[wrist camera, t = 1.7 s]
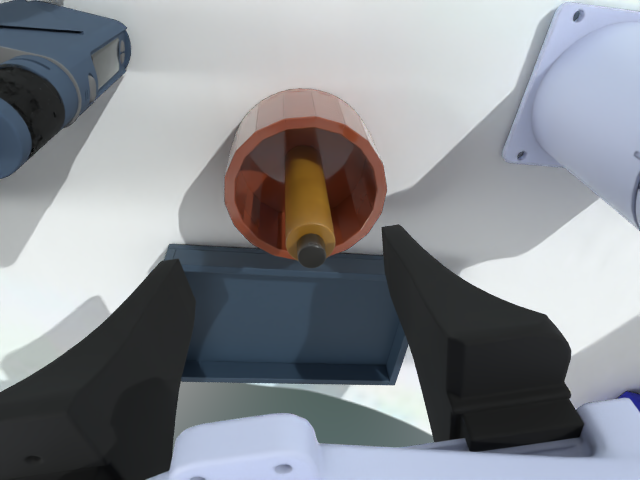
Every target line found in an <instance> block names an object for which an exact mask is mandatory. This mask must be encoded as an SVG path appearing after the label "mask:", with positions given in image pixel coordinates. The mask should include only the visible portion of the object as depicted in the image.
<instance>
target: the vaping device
mask: <svg viewBox="0 0 640 480" xmlns="http://www.w3.org/2000/svg"><path fill="white" fill-rule="evenodd" d="M125 29H127V27H126V26H125V25H123V24H122V23H121V22H119V21H117V20H114V19H110V18H106V17H102V16H98V15H94V14H90V13H86V12H82V11H78V10H74V9H70V8H66V7H62V6H58V5H54V4H50V3H46V2H42V1H29V2H28V1H26V0H13V1H9V2H6V3H2V4H0V179H2V178H5V177H7V176H10V175H11V174H12V173H14V172H15V171H16V170H17V169H19V168H20V167H21V166H22V165H23V164H24V163H25V162H26V161H27V159H29V158H31V157H32V156H33V155H34V154H35V153H36V152H37V151H38V150H39V149H40V148H41V147H43V146H44V145H45V144H46V143H47V142H48V141H49V140H50V139H51V138H52V137H53V136H55V135H56V134H57V133H58V132H59V131H60V130H61V129H62V128H66V127H68V126H70V125H71V124H72V123H73V122H74V121H75V120H76V119H77V118H78V117H79V116H80V115H81V114H82V113H83V112H84V111H85V110H86V109H87V108H88V107H89V106H90V105H91V104H93V103H94V101H95V100H96V99H97V98H98V97H99V96H100V95H101V94H102V93H103V92H104V91H106V90H107V89H108V88H109V87H110V86H111V85H112V84H113V83H114V82H115V81H116V80H117V79H119V78H120V77H121V76H122V75H123V74H124V73H125V72H126V70H125V68H126V67H127V65H128V63H129V60H130V56H131V45H130V40H129V36H128V34H127V32H126V30H125ZM35 149H36V150H35ZM28 157H29V158H28Z"/></svg>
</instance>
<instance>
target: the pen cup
mask: <svg viewBox="0 0 640 480" xmlns="http://www.w3.org/2000/svg"><path fill="white" fill-rule="evenodd" d="M302 145H305V146H310V147H312V148H314V149H315V150H316V151H317V152H318V153H319V154H320V156H321V160H322V166H323V171H324V177H325V183H326V189H327V194H328V200H329V206H330V211H331V217H332V223H333V229H334V234H335V241H336V243H335V248H334V250H333V252H332V253H331V254H330V255H329V256H332V255H334V254H337V253H340V252H342V251H345V250H347V249H349V248H350V247H352V246H353V245H354V244H355V243H357V242H358V241H359V240H361V239H362V238H363V237H364V236H366V235H367V233H369V231H370V230H371V228H372V227H373V225H374V224H375V222H376V221H377V219H378V218H379V216H380V215H381V213H382V210H383V205H384V201H385V197H386V192H387V184H386V178H385V172H384V166H383V163H382V160H381V158H380V156H379V153H378V151H377V149H376V147H375V144H374V142H373V140H372V137H371V135H370V133H369V131H368V130H367V128H366V126H365V124H364V122H363V121H362V119H361V118H360V116H359V115H358V114H357V113H356V111H355V110H354V109H353V108H352V107H351V106H349V105H348V104H347V103H346V102H344V101H343V100H341V99H340V98H338V97H336V96H334V95H332V94H330V93H326V92H323V91H320V90H314V89H290V90H286V91H282V92H279V93H276V94H274V95H271V96H269V97H267V98H266V99H264V100H262V101H261V102H259V103H258V104H257V105H255V106H254V107H253V108H252V109H251V110H250V111H249V112H248V113H247V115H246V116H245V117H244V119H243V120H242V122H241V124H240V125H239V127H238V129H237V132H236V135H235V138H234V140H233V143H232V146H231V150H230V155H229V159H228V164H227V168H226V172H225V177H224V202H225V205H226V208H227V210H228V212H229V215H230V217H231V220H232V222H233V224H234V226H235V227H236V228H237V229H238V230H239V231H240V232H241V233H242V234H243V236H244V237H245V238H246V239H247V240H248V241H249V242H250V243H252V244H253V245H255V246H256V247H258V248H260V249H262V250H264V251H266V252H268V253H270V254H271V255H274V256H278V257H283V258H288V259H293V260H296V259H294V258H293V257H292V256H291V255H290V254H289V253H288V251H287V248H286V231H285V157H286V155H287V153H288V152H289V151H290V150H291V149H293V148H294V147H297V146H302ZM329 256H328V257H329Z"/></svg>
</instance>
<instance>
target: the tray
mask: <svg viewBox="0 0 640 480" xmlns="http://www.w3.org/2000/svg"><path fill="white" fill-rule="evenodd" d="M178 258H179V261H180V263H181V265H182V268H183V270H184V273H185V275H186V278H187V280H188V283H189V285H190V287H191V290H192V292H193V295H194V297H195V300H196V308H195V320H194V327H193V332H192V336H191V341H190V345H189V349H188V353H187V357H186V361H185V365H184V369H183V373H182V378H181V381H182V382H232V383H289V384H347V385H395V383H396V380H397V377H398V374H399V371H400V368H401V365H402V362H403V359H404V356H405V353H406V350H407V347H408V341H407V339H406V336H405V333H404V331H403V328H402V325H401V323H400V320H399V318H398V315H397V312H396V310H395V307H394V304H393V302H392V299H391V296H390V292H389V288H388V284H387V280H386V276H385V270H384V256H378V255H360V254H342V253H337V254H334V255H332V256H329V257H327V258H326V260H325V262H324V263H323V264H322V265H321V266H319V267H317V268H306V267H304V266H302V265H301V264H300V263H299V261H297V260H293V259H288V258H283V257H278V256H274V255H271V254H270V253H268V252H266V251H264V250H262V249H252V248H234V247H216V246H198V245H180V244H169V247H168V250H167V252H166V255H165V258H164V261H165V260H171V259H178Z"/></svg>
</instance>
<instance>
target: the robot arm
mask: <svg viewBox="0 0 640 480" xmlns="http://www.w3.org/2000/svg"><path fill="white" fill-rule="evenodd" d="M578 10H579V11H580V15H579V17H578V18H577V19H576V20H575V21H573V15H574V14H575V12H577V11H578ZM523 151H524V152H523ZM520 152H523V155H522V156H520V157H517V155H518V154H519V153H520ZM502 157H503V159H504V160H505V161H506V162H508V163H516V164H527V165H539V166H551V167H562V168H566V169H567V170H568V171H569V172H571V173H572V174H573V175H574V176H575V177H577V178H578V179H579V180H580V181H581V182H582V183H584V184H585V185H586V186H587V187H588V188H590V189H591V190H592V191H593V192H594V193H596V194H597V195H598V196H599V197H600V198H601V199H603V200H604V201H605V202H606V203H607V204H609V205H610V206H611V207H612V208H613V209H614V210H616V211H617V212H618V213H619V214H620V215H622V216H623V217H624V218H625V219H626V220H628V221H629V222H630V223H631V224H632V225H633V226H635V227H636V228H637V229H638V230H639V231H640V12H639V11H632V10H624V9H617V8H610V7H603V6H595V5H588V4H581V3H574V2H565V3H563V4H561V5H560V6H559V7H558V8H557V10H556V12H555V14H554V17H553V19H552V22H551V24H550V27H549V30H548V32H547V35H546V38H545V40H544V43H543V46H542V48H541V51H540V54H539V56H538V59H537V62H536V64H535V67H534V70H533V72H532V75H531V77H530V80H529V83H528V85H527V88H526V91H525V93H524V96H523V99H522V101H521V104H520V107H519V109H518V112H517V115H516V117H515V120H514V123H513V125H512V128H511V131H510V133H509V136H508V138H507V141H506V144H505V146H504V149H503V152H502ZM382 241H383V255H384V270H385V276H386V280H387V284H388V288H389V292H390V296H391V299H392V302H393V304H394V307H395V310H396V312H397V315H398V318H399V320H400V323H401V325H402V328H403V331H404V333H405V336H406V339H407V341H408V344H409V346H410V349H411V353H412V356H413V359H414V363H415V367H416V370H417V374H418V378H419V382H420V386H421V390H422V394H423V398H424V402H425V406H426V410H427V414H428V418H429V422H430V426H431V430H432V435H433V439H434V442H433V443H426V444H419V445H413V446H406V447H399V448H396V447H378V446H360V445H342V444H324V443H318V441H317V439H316V435H315V431H314V428H313V427H312V426H311V424H310V423H309V422H308V421H307V420H306V419H305V418H302V417H300V416H297V415H294V414H292V413H273V414H266V415H259V416H252V417H245V418H238V419H232V420H224V421H217V422H211V423H204V424H199V425H197V426H193V427H190V428H187V429H185V430H184V431H183V432H182V433H181V434H180V435H179V436H178V437H177V439H176V442H175V446H174V451H173V456H172V449H173V436H174V427H175V416H176V409H177V401H178V392H179V387H180V382H181V378H182V373H183V369H184V365H185V361H186V357H187V353H188V349H189V345H190V341H191V336H192V332H193V327H194V320H195V308H196V300H195V297H194V295H193V292H192V290H191V287H190V285H189V283H188V280H187V278H186V275H185V273H184V270H183V268H182V265H181V263H180V261H179V258H178V259H171V260H165V261H161V262H160V263H159V264H158V265H157V266H156V267H155V268H154V270H153V271H152V272H151V273H150V274H149V275H148V276H147V277H146V279H145V280H144V281H143V282H142V283H141V284H140V285H139V286H138V287H137V289H136V290H135V291H134V292H133V293H132V294H131V295H130V296H129V297H128V298H127V299H126V300H125V301H124V302H123V303H122V304H121V305H120V306H119V307H118V308H117V309H116V310H115V311H114V312H113V313H112V314H111V315H110V316H109V317H108V318H107V319H106V320H105V321H104V322H103V323H102V324H101V325H100V326H99V327H98V328H96V329H95V330H94V331H93V332H92V333H90V334H89V335H88V336H87V337H86V338H84V339H83V340H82V341H81V342H79V343H78V344H76V345H75V346H74V347H72V348H71V349H70V350H68V351H67V352H66V353H64V354H63V355H61V356H60V357H59V358H57V359H56V360H54V361H53V362H51V363H50V364H48V365H47V366H45V367H44V368H42V369H40V370H39V371H37V372H35V373H34V374H32V375H31V376H29V377H27V378H25V379H24V380H22V381H20V382H18V383H16V384H15V385H13V386H11V387H9V388H7V389H5V390H4V391H2V392H0V480H640V412H639V411H638V409H637V408H636V406H635V405H634V404H633V402H632V401H631V400H630V399H629V398H619V399H612V400H605V401H598V402H591V403H587V404H584V405H582V406H580V407H579V408H578V409H577V410H575V408H574V406H573V405H572V403H571V401H570V400H569V398H570V397H571V393H570V390H569V389H568V387H567V386H566V384H565V382H564V380H565V377H566V373H567V370H568V366H569V363H570V359H571V349H570V346H569V344H568V342H567V341H566V339H565V338H564V336H563V335H562V333H561V332H560V331H559V330H558V328H557V327H556V326H555V325H554V324H553V322H552V321H551V320H550V319H549V318H548V317H547V315H545V314H542V313H539V312H535V311H532V310H529V309H526V308H523V307H520V306H517V305H515V304H512V303H510V302H507V301H505V300H502V299H500V298H498V297H495V296H493V295H491V294H489V293H487V292H485V291H483V290H481V289H479V288H477V287H475V286H474V285H472V284H470V283H468V282H467V281H465V280H463V279H462V278H460V277H459V276H457V275H456V274H454V273H453V272H451V271H450V270H449V269H447V268H446V267H445V266H443V265H442V264H441V263H440V262H438V261H437V260H436V259H435V258H433V257H432V256H431V255H430V254H429V253H428V252H427V251H426V250H424V249H423V248H422V247H421V246H420V245H419V244H418V243H417V242H416V241H415V240H414V239H413V238H412V237H411V236H410V235H409V234H408V233H407V232H406V231H405V229H404V228H403V227H402V226H400V225H399V224H398V225H392V226H385V227H382Z"/></svg>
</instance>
